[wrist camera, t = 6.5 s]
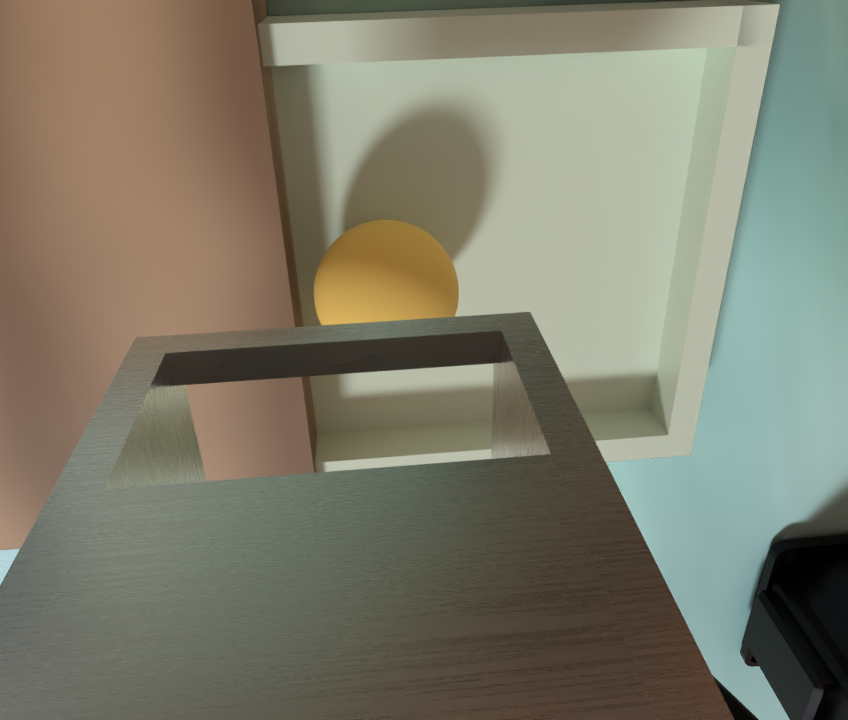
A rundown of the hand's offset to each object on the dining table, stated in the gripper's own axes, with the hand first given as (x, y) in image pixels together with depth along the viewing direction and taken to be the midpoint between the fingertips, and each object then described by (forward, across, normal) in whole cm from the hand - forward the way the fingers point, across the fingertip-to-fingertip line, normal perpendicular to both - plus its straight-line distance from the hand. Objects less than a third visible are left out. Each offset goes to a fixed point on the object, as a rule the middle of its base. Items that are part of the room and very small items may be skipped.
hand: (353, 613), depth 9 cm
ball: (+11, -2, 0) cm, 11 cm away
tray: (+12, -4, 0) cm, 13 cm away
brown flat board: (+12, +7, 0) cm, 14 cm away
